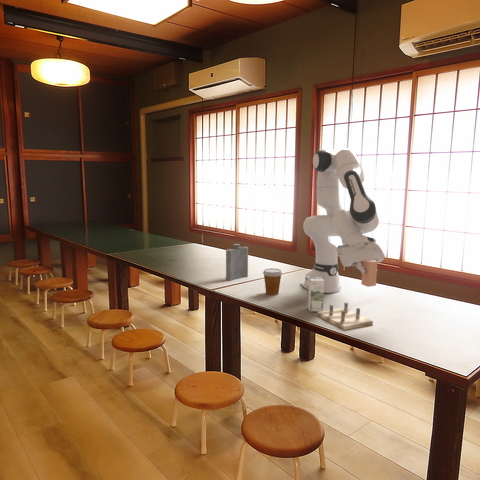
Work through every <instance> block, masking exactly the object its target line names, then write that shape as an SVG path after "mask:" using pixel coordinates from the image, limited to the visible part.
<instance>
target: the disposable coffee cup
mask: <svg viewBox="0 0 480 480" xmlns="http://www.w3.org/2000/svg"><path fill="white" fill-rule="evenodd" d="M262 274H263V277H264V279H263V280H264V288H265V294H266V295H268V296H276V295H279V294H280V286H281V279H282V274H283V272H282V270H281V269H279V268H274V267H273V268H272V267H271V268H265V269H264V270H263V272H262Z"/></svg>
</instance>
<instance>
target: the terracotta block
mask: <svg viewBox="0 0 480 480" xmlns="http://www.w3.org/2000/svg"><path fill="white" fill-rule="evenodd" d="M361 266H363V267H364V268H366V270H367V273H365V274H362V273H361V283H360V284H361V285H362V286H365V287H366V288H367V287H374V286H375V287H376V286H377V274H378V271H377V269H378V263H377V261H375V260H363V262H362V265H361Z"/></svg>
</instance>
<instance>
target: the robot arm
mask: <svg viewBox="0 0 480 480" xmlns="http://www.w3.org/2000/svg"><path fill="white" fill-rule="evenodd" d="M312 166H313V169H314V170H315V171H316V172H317V176H316V177H317V178H316V203H317V205H318V206H319V207H321V208H323V209H324V210H325V211H326V214H322V215H320V214H319V215H318V214H317V215H311V216H308V217H306V218H305V219H304V221H303V224H302V225H303V228H302V229H303V231H304V233H305V235H307V236H308V237H309V238H310V239H311V240H312V242H313V245H314V247H315V262H313V263H312V265H313V268H312V269H311V270H309V271H308V272H307V273H306V274H305V278H304V279H305V280H304V281H301V282H300V286H302V287H304V288H306V289H307V290H308V280H309V277H321V278H322V279H323V280H324V293H323V294H325V293H328V294H331V293H338V292H340V289H341V285H340V274H339V272H338V271H339V263H338V260H339V261H340V263H341V265H342V266H343V267H345V268H346V267H351V266H352V267H353V266H354V267H355V268H356V269H358V270H359V271H360V273H361V275H362V274H365V273H367V270H366V268H364V267H363V266H362V262H363V260H375V261H377V264H378V263H382V262H383V261H384V259H385V257H386V256H385V253H384V251H383V249H382V248H381V247H380V245H379V244H378V243H377V240H376V238H374V237H371V236H367V235H364V234H368V233H371V232H373V231H374V230H375V229H376V228H377V227H378V225H379V223H380V221H379V216H378V213H377V209H376V204H375V202H374V200H372V199H371V198H370V197H369V196H368V195H367V193H366V191H365V188H364V185H363V182H364V181H365V176H364V174H365V173H364V169H363V167H362V164H361V162H360V160H359V157H358V154H357V152H356V151H354V150H352V149H351V148H347V147H346V148H343V149H341V148H339V149H338V148H334V149H320V150H316V151H315V153H314V154H313V157H312ZM339 182H340V184H341V185H342V187H343V188H345V189H347V192H348V195H349V199H350V204H349V209H343V208H342V205H341V202H340V192H339V191H340V184H339ZM329 237H339V238H340V239H341V243H342V244H341V245H337V246H336V245H335V244H333V243H331V242H330V241H329ZM338 257H339V259H338ZM377 272H378V268H377Z"/></svg>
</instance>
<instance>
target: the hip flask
mask: <svg viewBox="0 0 480 480" xmlns="http://www.w3.org/2000/svg"><path fill="white" fill-rule="evenodd" d="M232 246H233V248H229V249H228V248H227V249H226V250H225V281H226V282H232V281H235V280H239V279H242V278H243V279H244V278H248V276H249V247H248V246H240V243H233V245H232Z"/></svg>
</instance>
